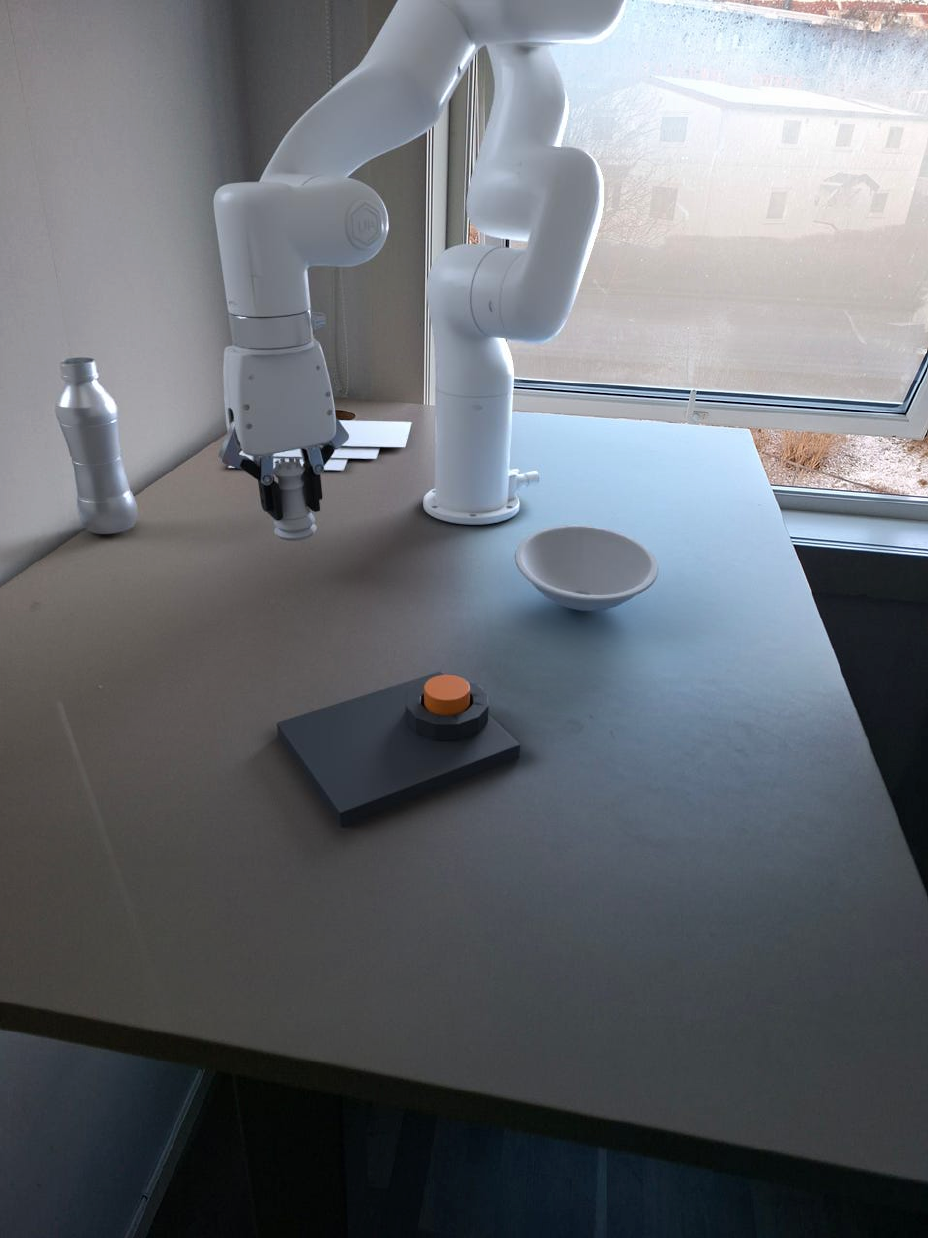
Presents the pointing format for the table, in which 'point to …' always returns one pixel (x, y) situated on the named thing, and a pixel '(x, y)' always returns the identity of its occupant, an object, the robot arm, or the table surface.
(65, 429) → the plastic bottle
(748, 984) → the table surface
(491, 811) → the table surface
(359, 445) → the paper stack
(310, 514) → the rook chess piece
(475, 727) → the scale
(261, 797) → the table surface
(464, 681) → the button
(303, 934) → the table surface
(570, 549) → the dish
